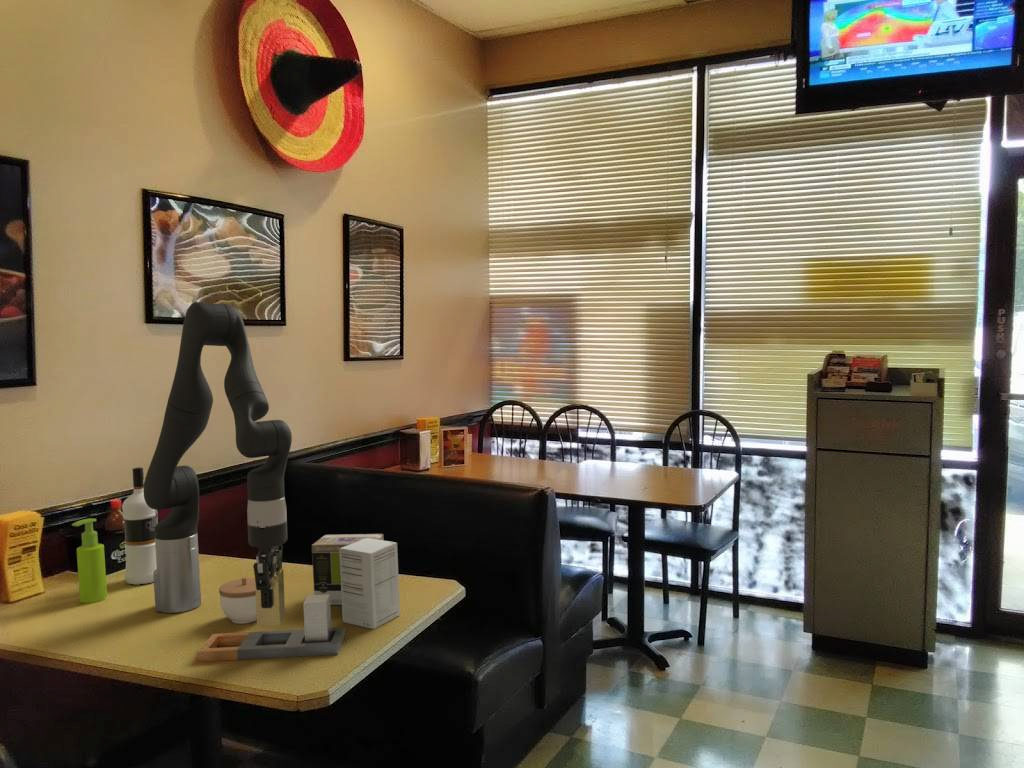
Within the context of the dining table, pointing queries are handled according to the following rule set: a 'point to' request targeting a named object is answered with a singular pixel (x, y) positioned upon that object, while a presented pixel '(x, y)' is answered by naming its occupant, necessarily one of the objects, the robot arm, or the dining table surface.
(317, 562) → the tea box
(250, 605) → the lidded jar
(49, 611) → the dining table surface
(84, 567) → the soap dispenser
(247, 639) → the grey flat frame
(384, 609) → the supplement box
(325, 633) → the gray square beam
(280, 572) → the beige rectangular block
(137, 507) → the vodka
